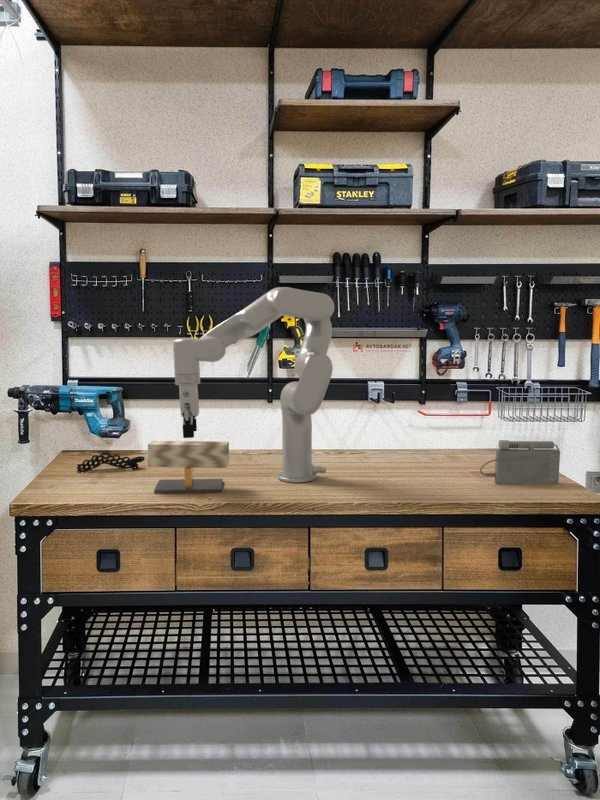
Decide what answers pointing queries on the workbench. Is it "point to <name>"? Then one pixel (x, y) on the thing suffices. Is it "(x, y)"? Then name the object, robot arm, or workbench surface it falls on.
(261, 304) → the robot arm
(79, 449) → the workbench surface
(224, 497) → the workbench surface
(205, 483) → the stand
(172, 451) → the maple bar
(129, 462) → the decorative element
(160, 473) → the workbench surface
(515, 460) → the geiger counter
